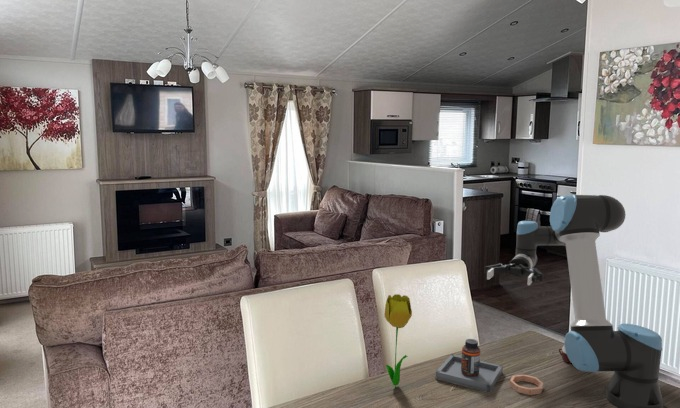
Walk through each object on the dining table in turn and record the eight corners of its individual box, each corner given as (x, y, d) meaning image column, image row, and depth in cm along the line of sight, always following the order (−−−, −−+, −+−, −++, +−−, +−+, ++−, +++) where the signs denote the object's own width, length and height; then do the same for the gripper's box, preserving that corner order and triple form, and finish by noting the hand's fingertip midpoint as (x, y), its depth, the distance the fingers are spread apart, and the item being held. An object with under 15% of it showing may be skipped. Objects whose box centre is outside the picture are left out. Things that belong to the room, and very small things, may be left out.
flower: (378, 389, 164) (380, 298, 160) (388, 378, 172) (390, 291, 167) (403, 395, 160) (406, 302, 156) (412, 384, 168) (415, 295, 163)
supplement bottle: (457, 370, 175) (458, 338, 174) (471, 367, 178) (472, 336, 176) (468, 378, 170) (470, 345, 168) (482, 375, 173) (484, 342, 171)
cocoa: (555, 358, 189) (556, 326, 188) (570, 356, 191) (571, 324, 190) (572, 368, 180) (573, 335, 179) (588, 366, 182) (589, 333, 180)
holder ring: (544, 384, 169) (545, 379, 168) (539, 397, 160) (539, 392, 160) (514, 377, 173) (514, 372, 173) (507, 389, 165) (508, 384, 165)
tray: (502, 372, 176) (502, 365, 176) (490, 392, 163) (490, 385, 162) (451, 360, 185) (451, 354, 185) (435, 378, 172) (435, 371, 171)
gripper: (554, 280, 191) (545, 294, 173) (486, 271, 203) (471, 283, 185) (556, 260, 190) (547, 272, 172) (487, 252, 202) (472, 263, 184)
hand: (507, 278), depth 178 cm, fingers open, 13 cm apart
